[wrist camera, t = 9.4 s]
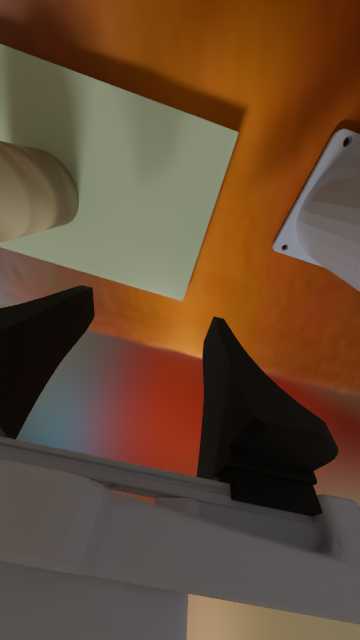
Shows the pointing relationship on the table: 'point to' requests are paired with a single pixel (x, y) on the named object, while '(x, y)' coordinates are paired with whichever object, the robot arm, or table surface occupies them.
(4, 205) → the maple cylinder
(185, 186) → the green board
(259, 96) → the table surface
